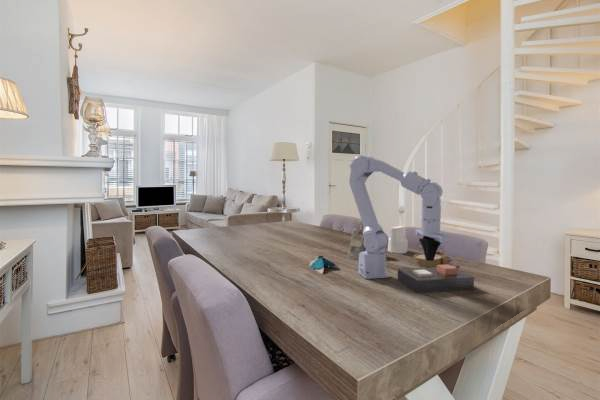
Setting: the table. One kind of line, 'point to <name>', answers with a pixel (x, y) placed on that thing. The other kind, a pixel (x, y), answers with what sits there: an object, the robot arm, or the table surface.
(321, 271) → the decorative butterfly
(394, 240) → the cream upright block
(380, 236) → the robot arm
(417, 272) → the cream key
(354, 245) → the ceramic cottage
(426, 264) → the alarm clock
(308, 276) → the table surface
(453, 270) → the red key
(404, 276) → the grey flat block
